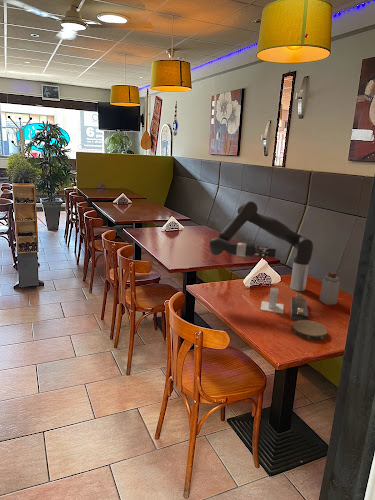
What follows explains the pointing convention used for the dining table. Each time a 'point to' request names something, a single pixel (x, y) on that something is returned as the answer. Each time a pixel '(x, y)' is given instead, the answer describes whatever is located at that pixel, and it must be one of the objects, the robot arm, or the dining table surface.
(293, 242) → the robot arm
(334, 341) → the dining table surface
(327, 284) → the perfume bottle
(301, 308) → the hand plane
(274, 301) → the lever cap
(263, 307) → the rubber mat
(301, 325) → the brown round disc
